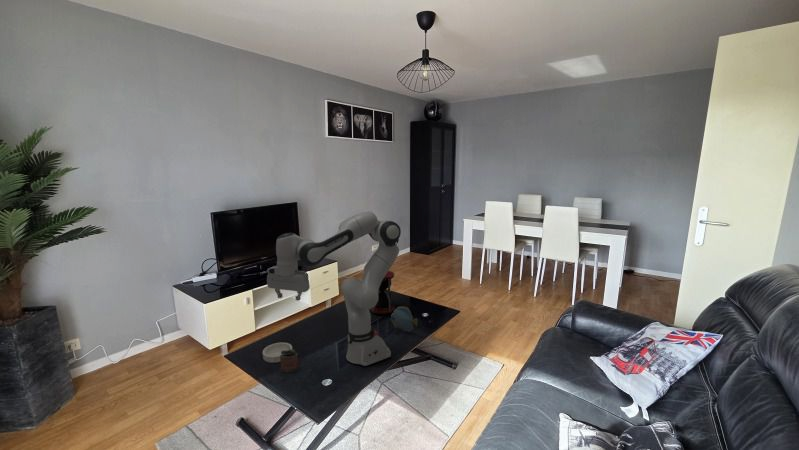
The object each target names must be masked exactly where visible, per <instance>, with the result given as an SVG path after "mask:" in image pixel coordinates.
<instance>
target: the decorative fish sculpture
mask: <svg viewBox="0 0 799 450" xmlns="http://www.w3.org/2000/svg"><path fill="white" fill-rule="evenodd" d="M390 316H391V317H390V318H389V321H390V323H391V324H393V326H394V327H395V326H396V327H397V328H399V329H401V330H402V331H404V332H406V331H407V332H408V333H409V332H412V330H413V328H414V325H415V326H416V327H418V318H414V317H413V315H412V312H411V310H410V309H409V308H408V307H407V306H398V307H396V308H395V309H394V311H393V312H391V315H390Z"/></svg>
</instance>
